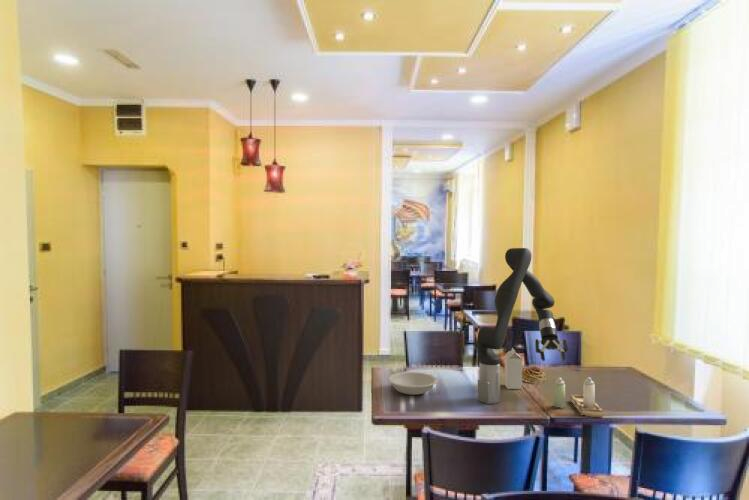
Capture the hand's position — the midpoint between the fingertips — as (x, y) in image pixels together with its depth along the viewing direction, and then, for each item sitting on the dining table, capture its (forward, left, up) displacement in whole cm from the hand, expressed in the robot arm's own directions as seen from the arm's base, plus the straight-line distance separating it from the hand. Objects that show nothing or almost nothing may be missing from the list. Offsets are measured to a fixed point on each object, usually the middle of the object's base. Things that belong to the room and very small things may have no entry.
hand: (553, 360), depth 208 cm
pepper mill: (-9, -8, -17) cm, 21 cm away
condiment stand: (-2, -16, -17) cm, 24 cm away
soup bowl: (-49, +43, -18) cm, 68 cm away
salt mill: (-5, -19, -15) cm, 25 cm away
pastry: (+17, +23, -18) cm, 33 cm away
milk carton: (-3, +21, -18) cm, 27 cm away
